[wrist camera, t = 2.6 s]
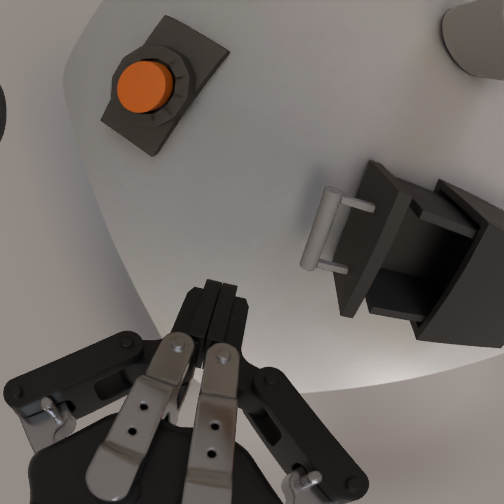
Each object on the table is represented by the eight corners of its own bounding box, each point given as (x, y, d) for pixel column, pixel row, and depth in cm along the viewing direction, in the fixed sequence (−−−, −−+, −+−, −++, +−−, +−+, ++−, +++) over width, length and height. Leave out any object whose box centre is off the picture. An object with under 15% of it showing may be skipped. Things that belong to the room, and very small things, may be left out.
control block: (158, 155, 26) (145, 163, 24) (105, 117, 24) (88, 123, 22) (231, 53, 21) (224, 49, 18) (168, 16, 19) (155, 10, 16)
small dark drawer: (292, 253, 30) (292, 306, 23) (325, 145, 23) (340, 172, 17) (431, 286, 30) (454, 334, 23) (475, 203, 24) (515, 240, 17)
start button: (155, 119, 22) (146, 122, 21) (118, 95, 21) (108, 97, 19) (183, 77, 20) (176, 77, 18) (144, 53, 19) (134, 52, 17)
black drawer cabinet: (392, 277, 31) (416, 340, 23) (438, 178, 24) (489, 223, 16) (473, 297, 31) (500, 348, 23) (517, 219, 24) (560, 262, 16)
